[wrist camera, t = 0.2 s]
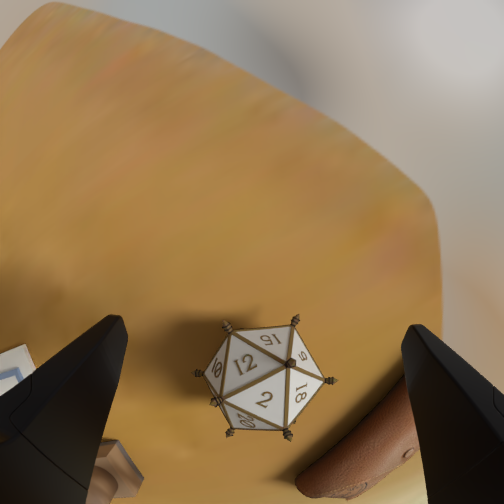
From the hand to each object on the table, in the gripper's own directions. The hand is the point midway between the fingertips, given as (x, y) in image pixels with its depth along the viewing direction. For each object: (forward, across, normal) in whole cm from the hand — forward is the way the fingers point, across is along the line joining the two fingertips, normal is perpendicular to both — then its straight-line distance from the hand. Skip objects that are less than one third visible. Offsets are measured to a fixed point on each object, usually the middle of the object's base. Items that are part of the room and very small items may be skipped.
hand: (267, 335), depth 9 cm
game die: (+10, 0, +13) cm, 16 cm away
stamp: (+3, +14, +23) cm, 27 cm away
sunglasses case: (+6, -12, +20) cm, 24 cm away
